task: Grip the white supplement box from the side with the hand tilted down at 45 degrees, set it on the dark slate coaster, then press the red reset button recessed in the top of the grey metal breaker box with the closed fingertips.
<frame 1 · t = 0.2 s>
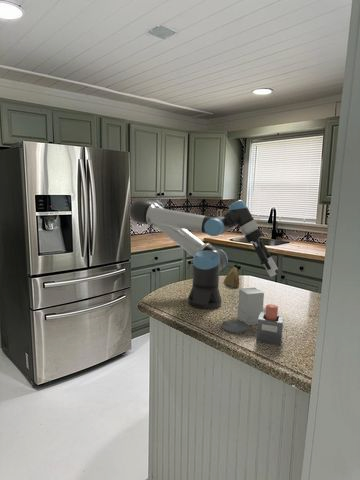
hand: (274, 273, 145), 15 cm above the counter, tool tilted 35°, fingers open, 13 cm apart
rock: (231, 285, 175), on the counter
coaster: (234, 327, 121), on the counter
reset button: (271, 315, 111), point 9 cm above the counter, slide at 0.0 cm
supplement box: (249, 321, 128), on the counter
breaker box: (269, 339, 112), on the counter
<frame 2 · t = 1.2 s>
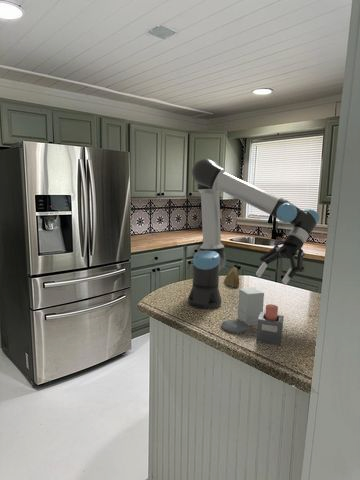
hand: (270, 279, 131), 16 cm above the counter, tool tilted 45°, fingers open, 13 cm apart
nothing on the counter moved.
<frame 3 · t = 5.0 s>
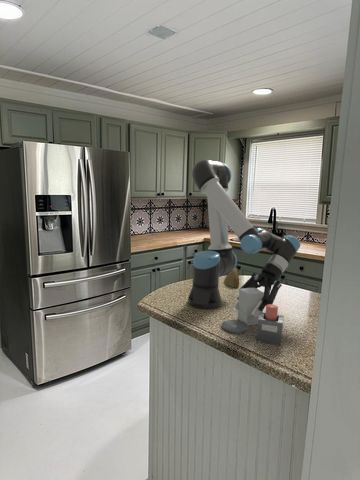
hand: (244, 312, 125), 4 cm above the counter, tool tilted 45°, fingers closed on supplement box, 9 cm apart
supplement box: (249, 321, 128), on the counter, touching gripper
everything else where it was.
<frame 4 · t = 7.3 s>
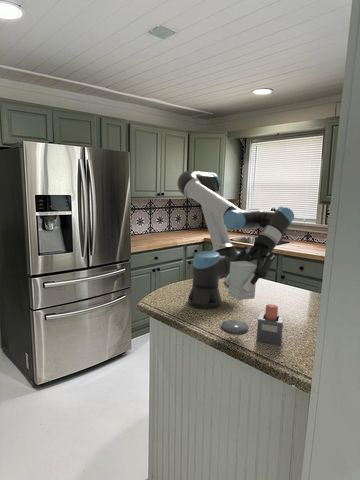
hand: (235, 286, 117), 17 cm above the counter, tool tilted 45°, fingers closed on supplement box, 9 cm apart
supplement box: (241, 296, 120), point 12 cm above the counter, touching gripper
everything else where it was.
when the fingers open (7 cm above the counter, at t = 9.8 s): supplement box drops 1 cm, resting on coaster.
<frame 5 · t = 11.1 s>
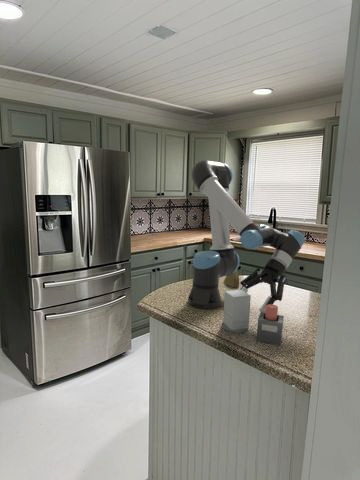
hand: (248, 306, 122), 7 cm above the counter, tool tilted 45°, fingers open, 13 cm apart
supplement box: (235, 325, 121), point 1 cm above the counter, touching coaster
everything else where it was.
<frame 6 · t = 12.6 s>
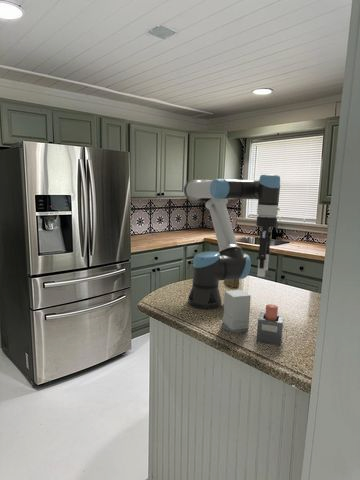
hand: (262, 273, 125), 20 cm above the counter, tool pointing down, fingers open, 10 cm apart
nothing on the counter moved.
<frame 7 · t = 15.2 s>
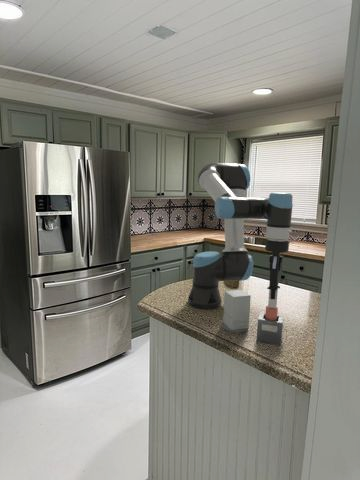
hand: (272, 306, 110), 12 cm above the counter, tool pointing down, fingers closed
reset button: (271, 316, 111), point 8 cm above the counter, slide at -0.4 cm, touching gripper
everything else where it was.
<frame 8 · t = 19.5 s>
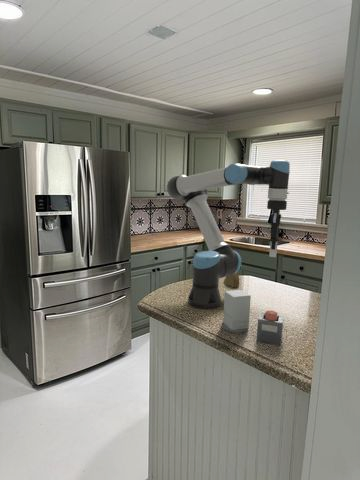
hand: (272, 256, 134), 24 cm above the counter, tool pointing down, fingers closed
reset button: (270, 321, 111), point 6 cm above the counter, slide at -2.3 cm
everything else where it was.
at the end: reset button slide at -2.3 cm; supplement box 0.2 cm from the coaster (horizontally); supplement box tilted 0° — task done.
